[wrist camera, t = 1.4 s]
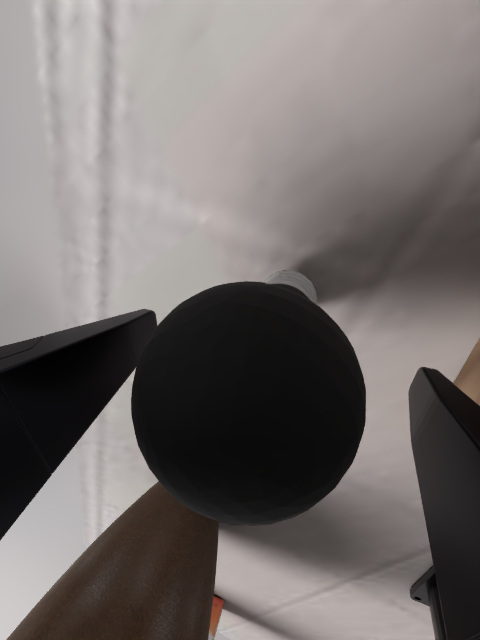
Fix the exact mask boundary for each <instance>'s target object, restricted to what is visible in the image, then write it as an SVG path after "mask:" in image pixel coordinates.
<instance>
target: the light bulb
mask: <svg viewBox="0 0 480 640" xmlns="http://www.w3.org/2000/svg"><path fill="white" fill-rule="evenodd" d="M316 301H317V297H316V291H315V288H314V285H313V284H312V282H311V281H310V280H309V279H308V278H307V277H306V276H305V275H303V274H301V273H299V272H296V271H292V270H284V271H279V272H277V273H275V274H273V275H271V276H270V277H269V278H268V279H267V281H266V282H265V283H262V282H247V281H246V282H236V283H227V284H223V285H218V286H215V287H212V288H209V289H207V290H204V291H202V292H200V293H198V294H196V295H194V296H193V297H191V298H189V299H187V300H186V301H184V302H182V303H181V304H179V305H178V306H177V307H176V308H175V309H173V310H172V311H171V312H170V313H169V314H168V315H167V316H166V317H165V318H164V320H163V321H162V322H161V323H160V324H159V325H158V326H157V328H156V329H155V330H154V331H153V333H152V334H151V336H150V338H149V339H148V341H147V343H146V345H145V347H144V348H143V351H142V354H141V356H140V359H139V362H138V364H137V367H136V372H135V376H134V381H133V385H132V397H131V410H132V420H133V425H134V430H135V435H136V439H137V442H138V446H139V448H140V450H141V452H142V454H143V456H144V458H145V460H146V462H147V464H148V467H149V469H150V470H151V471H152V472H153V474H154V475H155V476H156V478H157V479H158V480H159V482H160V483H161V484H162V486H163V487H164V488H165V489H166V490H167V491H168V492H169V493H170V494H171V495H172V496H173V497H174V498H175V499H176V500H177V501H179V502H180V503H182V504H183V505H185V506H186V507H188V508H189V509H191V510H193V511H194V512H196V513H198V514H201V515H203V516H206V517H208V518H211V519H214V520H217V521H220V522H224V523H227V524H231V525H249V526H254V525H266V524H273V523H276V522H279V521H283V520H286V519H289V518H292V517H295V516H297V515H299V514H301V513H303V512H305V511H307V510H308V509H310V508H311V507H313V506H314V505H315V504H317V503H318V502H319V501H321V500H322V499H323V498H324V497H325V496H326V495H327V494H329V493H330V492H331V491H332V490H333V489H334V488H335V487H336V486H337V484H338V483H339V482H340V480H341V479H342V477H343V476H344V474H345V473H346V472H347V470H348V469H349V467H350V466H351V464H352V462H353V460H354V458H355V456H356V453H357V450H358V447H359V444H360V441H361V438H362V435H363V431H364V426H365V414H366V389H365V383H364V378H363V374H362V371H361V368H360V365H359V362H358V359H357V357H356V354H355V351H354V349H353V347H352V345H351V343H350V342H349V340H348V338H347V336H346V335H345V334H344V332H343V331H342V330H341V329H340V327H339V326H338V325H337V324H336V323H335V322H334V320H333V319H332V318H331V317H330V316H329V315H328V314H327V313H326V312H325V311H324V310H323V309H321V308H320V307H319V306H318V305H316Z"/></svg>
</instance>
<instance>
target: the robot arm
mask: <svg viewBox="0 0 480 640" xmlns="http://www.w3.org/2000/svg"><path fill="white" fill-rule="evenodd" d="M156 328H157V320H156V314H155V312H154V311H152V310H147V309H141V310H138V311H134V312H130V313H126V314H123V315H119V316H115V317H112V318H108V319H104V320H100V321H97V322H93V323H89V324H85V325H82V326H78V327H74V328H70V329H67V330H63V331H59V332H55V333H52V334H48V335H46V336H40V337H37V338H33V339H29V340H25V341H22V342H17V343H14V344H10V345H5V346H1V347H0V540H1V539H2V537H3V536H4V535H5V533H6V532H7V531H8V530H9V529H10V527H11V526H12V525H13V523H14V522H15V521H16V519H17V518H18V517H19V515H21V513H22V512H23V511H24V509H25V508H26V507H27V506H28V504H29V503H30V502H31V501H32V499H33V498H34V497H35V495H36V494H37V493H38V491H39V490H40V489H41V488H42V487H43V485H44V484H45V483H46V481H47V480H48V479H49V478H50V476H51V475H52V474H51V473H53V472H54V471H55V470H56V469H57V467H58V466H59V465H60V463H61V462H62V461H63V460H64V458H65V457H66V456H67V454H68V453H69V452H70V451H71V449H72V448H73V447H74V446H75V444H76V443H77V442H78V441H79V439H80V438H81V437H82V435H83V434H84V433H85V432H86V430H87V429H88V428H89V427H90V425H91V424H92V423H93V422H94V420H95V419H96V418H97V416H98V415H99V414H100V413H101V411H102V410H103V409H104V408H105V406H106V405H107V404H108V402H109V401H110V400H111V399H112V397H113V396H114V395H115V394H116V392H117V391H118V390H119V388H120V387H121V386H122V385H123V383H124V382H125V381H126V380H127V378H128V377H129V376H130V374H131V373H132V372H133V371H134V369H135V368H136V367H137V364H138V362H139V359H140V356H141V354H142V351H143V348H144V347H145V345H146V343H147V341H148V339H149V338H150V336H151V334H152V333H153V331H154V330H155V329H156ZM409 413H410V433H411V443H412V450H413V455H414V461H415V466H416V471H417V477H418V482H419V488H420V493H421V499H422V504H423V510H424V515H425V520H426V526H427V531H428V537H429V542H430V548H431V553H432V559H433V564H434V566H433V567H432V568H431V569H430V570H429V571H428V572H427V573H426V574H425V575H424V576H423V577H422V578H421V579H420V580H419V581H418V582H417V583H416V584H415V585H414V586H413V587H412V588H411V589H410V597H411V598H412V599H413V600H415V601H418V602H420V603H423V604H425V605H427V606H430V612H431V617H432V623H433V629H434V634H435V640H480V406H479V405H478V404H477V403H476V402H475V401H473V400H472V399H471V398H470V397H469V396H467V395H466V394H465V393H464V392H463V391H462V390H460V389H459V388H458V387H457V386H456V385H454V384H453V383H452V382H451V381H450V380H449V379H447V378H446V377H445V376H444V375H443V374H441V373H440V372H439V371H438V370H436V369H431V368H426V367H421V368H419V369H418V371H417V373H416V375H415V377H414V379H413V382H412V384H411V386H410V388H409Z"/></svg>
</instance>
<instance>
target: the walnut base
mask: <svg viewBox="0 0 480 640" xmlns="http://www.w3.org/2000/svg"><path fill="white" fill-rule="evenodd" d="M453 384H454V385H456V386H457V387H458V388H459V389H460V390H462V391H463V392H464V393H465V394H466V395H467V396H469V397H470V398H471V399H472V400H473V401H475V402H476V403H477V404H478V405H479V406H480V339H479V340H478V342H477V344H476V345H475V347H474V349H473V351H472V352H471V354H470V356H469V357H468V359H467V361H466V363H465V364H464V366H463V368H462V369H461V371H460V373H459V375H458V376H457V378H456V380H455V381H454V383H453Z"/></svg>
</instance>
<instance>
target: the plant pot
mask: <svg viewBox="0 0 480 640" xmlns="http://www.w3.org/2000/svg"><path fill="white" fill-rule="evenodd" d="M218 527H219V521H217V520H214V519H211V518H208V517H206V516H203V515H201V514H198V513H196V512H194V511H193V510H191V509H189V508H188V507H186V506H185V505H183V504H182V503H180V502H179V501H177V500H176V499H175V498H174V497H173V496H172V495H171V494H170V493H169V492H168V491H167V490H166V489H165V488H164V487H163V486H162V484H161V483H160V482H157V483H156V484H155V485H154V486H153V487H151V488H150V489H149V490H148V491H147V492H146V493H145V494H143V495H142V496H141V497H140V498H139V499H138V500H137V501H136V502H135V503H134V504H132V505H131V506H130V507H129V508H128V509H127V510H126V511H125V512H124V513H123V514H122V515H121V516H120V517H119V518H118V519H116V520H115V521H114V522H113V523H112V524H111V525H110V526H109V527H108V528H107V529H106V530H105V531H104V532H103V533H102V534H101V535H100V536H99V537H98V538H97V539H96V540H95V541H94V542H93V543H92V544H91V545H90V546H89V547H88V548H87V550H86V551H85V552H84V553H83V554H82V555H81V556H80V557H79V558H78V559H77V560H76V561H75V563H74V564H73V565H72V566H71V567H70V568H69V569H68V570H67V571H66V572H65V573H64V574H63V575H62V576H61V578H60V579H59V580H58V581H57V582H56V583H55V584H54V585H53V586H52V588H51V589H50V590H49V591H48V592H47V593H46V594H45V595H44V597H43V598H42V599H41V600H40V601H39V602H38V603H37V605H36V606H35V607H34V608H33V609H32V610H31V611H30V613H29V614H28V615H27V616H26V617H25V618H24V620H23V621H22V622H21V623H20V624H19V625H18V627H17V628H16V629H15V630H14V631H13V633H12V634H11V635H10V636H9V637H8V638H7V640H208V637H209V629H210V621H211V613H212V605H213V596H214V586H215V575H216V562H217V548H218Z"/></svg>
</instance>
